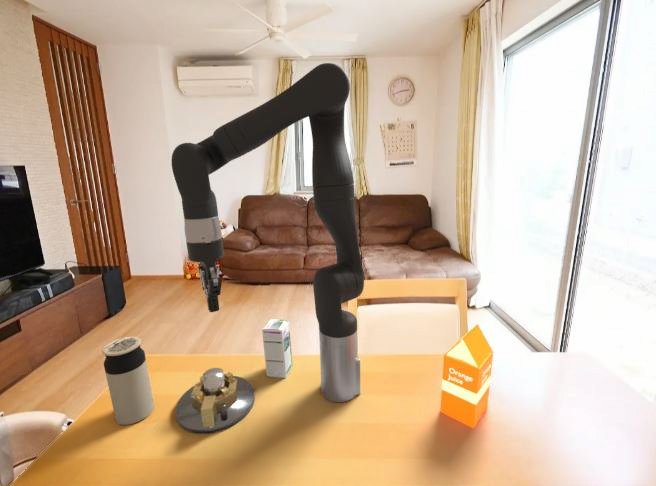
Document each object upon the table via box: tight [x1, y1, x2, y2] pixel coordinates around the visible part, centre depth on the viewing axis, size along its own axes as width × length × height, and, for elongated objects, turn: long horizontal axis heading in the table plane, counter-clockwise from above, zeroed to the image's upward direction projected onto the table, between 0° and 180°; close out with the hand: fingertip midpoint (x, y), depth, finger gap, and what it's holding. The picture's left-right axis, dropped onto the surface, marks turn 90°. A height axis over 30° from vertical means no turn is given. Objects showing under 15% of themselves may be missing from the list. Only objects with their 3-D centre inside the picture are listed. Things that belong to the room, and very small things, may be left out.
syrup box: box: [261, 318, 293, 379], centre depth 91 cm, size 6×6×14 cm
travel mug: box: [101, 336, 155, 426], centre depth 77 cm, size 8×8×18 cm
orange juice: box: [440, 323, 494, 429], centre depth 75 cm, size 8×9×20 cm
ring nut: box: [191, 371, 238, 428], centre depth 78 cm, size 14×10×4 cm
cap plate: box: [175, 367, 256, 435], centre depth 80 cm, size 18×18×8 cm
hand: (214, 310), depth 77 cm, fingers closed
